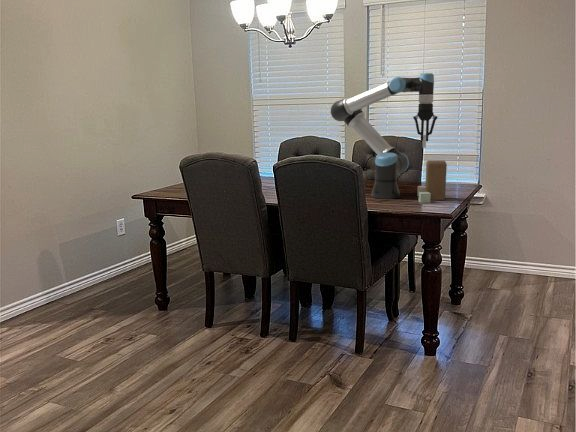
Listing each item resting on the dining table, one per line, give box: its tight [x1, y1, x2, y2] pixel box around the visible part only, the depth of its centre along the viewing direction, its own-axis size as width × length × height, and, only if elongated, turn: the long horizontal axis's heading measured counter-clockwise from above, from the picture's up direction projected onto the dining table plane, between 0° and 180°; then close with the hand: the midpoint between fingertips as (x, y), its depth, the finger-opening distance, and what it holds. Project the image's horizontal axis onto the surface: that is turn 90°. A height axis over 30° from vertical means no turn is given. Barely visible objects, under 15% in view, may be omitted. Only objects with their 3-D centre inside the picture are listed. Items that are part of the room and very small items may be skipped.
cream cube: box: [416, 185, 425, 197], centre depth 313 cm, size 5×5×5 cm
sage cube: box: [418, 192, 431, 204], centre depth 294 cm, size 5×5×5 cm
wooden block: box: [424, 160, 448, 201], centre depth 301 cm, size 10×10×20 cm
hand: (424, 147), depth 308 cm, fingers closed
